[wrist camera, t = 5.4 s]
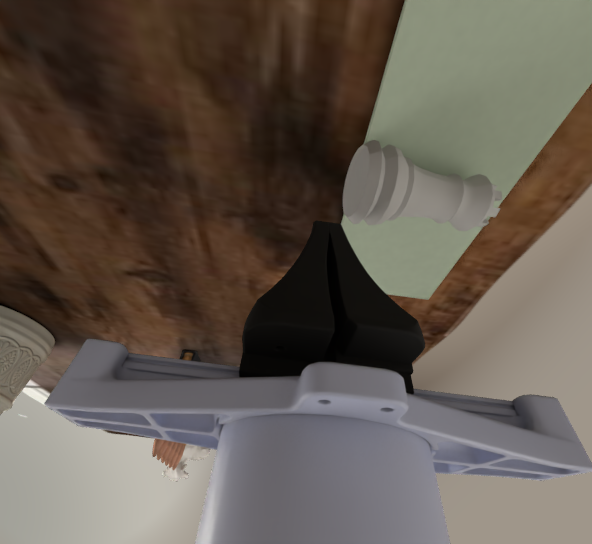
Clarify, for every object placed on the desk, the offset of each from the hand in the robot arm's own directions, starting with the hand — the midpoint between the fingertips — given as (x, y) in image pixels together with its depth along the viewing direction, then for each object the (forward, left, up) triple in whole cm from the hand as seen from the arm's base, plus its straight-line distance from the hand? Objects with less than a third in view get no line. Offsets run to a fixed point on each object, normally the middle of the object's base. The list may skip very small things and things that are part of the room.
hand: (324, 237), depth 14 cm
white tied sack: (-67, -33, -6) cm, 75 cm away
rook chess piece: (+2, 0, -3) cm, 4 cm away
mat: (+4, -5, -6) cm, 9 cm away
